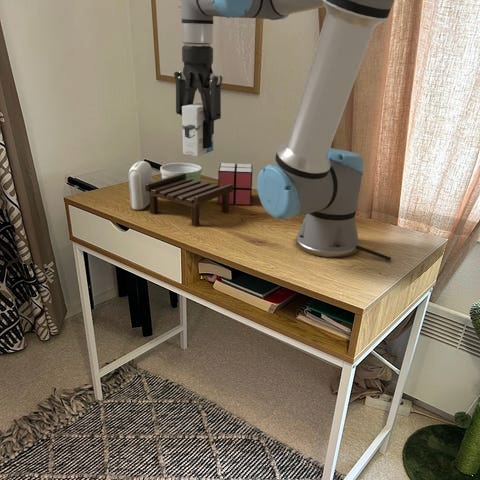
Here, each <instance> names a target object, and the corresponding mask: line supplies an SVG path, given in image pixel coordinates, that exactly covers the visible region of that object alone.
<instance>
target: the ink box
mask: <svg viewBox="0 0 480 480" xmlns="http://www.w3.org/2000/svg"><path fill="white" fill-rule="evenodd" d="M181 120H182V121H181V123H182V154H183V155H187V156H193V157H201V156H203V155H206V154H208V153H211V152H213V151H214V134H213V135H212V147H210V148H206V149H204V148H203V122H204V120H206V119H205V114H204V109H203V104H202V102H196V103H193V104H191V105H186V106H182V116H181Z"/></svg>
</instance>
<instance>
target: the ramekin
mask: <svg viewBox="0 0 480 480" xmlns="http://www.w3.org/2000/svg"><path fill="white" fill-rule="evenodd" d="M159 169H160V174H161V179H164V178H167V177H170V176H174V175H177V174H180V173H186V179H187V178H191V179H193V181H195V180H199V181H201V178H202V177H201V176H202V172H203V170H202V166H201V165H198V164H195V163H189V162H171V163H166V164H163V165H161V166H160V168H159Z"/></svg>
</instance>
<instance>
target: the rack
mask: <svg viewBox="0 0 480 480" xmlns="http://www.w3.org/2000/svg"><path fill="white" fill-rule="evenodd" d="M218 186H219V185H218V184H215V183H213V184H211V183H210V182H207V181H204V182H202V181H201V180H200V181H199V180H195V181H193V179H191V178H187V179H186V173H180V174H177V175H174V176H170V177H167V178H164V179H162V178H160V179H157V180H154V181H153V180H152V182H150V183H147V184H145V187H146V191H148V192H149V198H150V204H149V211H150V214H154V215H156V214H158V213H159V199H162V200H167V201H170V202H174V203H178V204H181V205H184V206H188V207H190V209H191V210H190V212H191V213H190V214H191V215H190V216H191V226H193V227H198V226H200V223H201V222H200V221H201V220H200V219H201V217H200V216H201V215H200V214H201V213H200V209H201V208H200V205H201V204H204V203H206V202H208V201H211V200H214V199H216V198H217V199H218V197H219V196H222V204H221V213H223V214H228V213H230V204H229V199H230V195H229V194H230V192H232V191H233V184H228V185H225V186H221V187H219V188H218ZM158 198H159V199H158Z"/></svg>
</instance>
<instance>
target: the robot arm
mask: <svg viewBox="0 0 480 480" xmlns="http://www.w3.org/2000/svg"><path fill="white" fill-rule="evenodd" d="M394 2H395V0H180V17H181V18H180V19H181V24H180V25H181V43H182V44H184V45H182V47H181V61H182V63H183V67H182V70H179V71H174V72H173V76H174V80H175V113H176V115H180V116H181V117H182V106H186V105H191V104H194V101H195V97H196V92H197V90H198V93H199V94H200V99H201V103H202V104H203V109H204V114H205V119H206V120H204V122H203V148H204V149H206V148H210V147H212V135H213V136H214V134H215V121H218V120H220V119H221V118H222V102H221V100H222V98H221V93H222V91H221V88H222V83H223V76H222V75H217V74H215V73H214V71H213V67H212V66H213V63H214V47H213V46H211V45H212V44H214V17H219V18H227V19H231V18H233V19H236V18H238V19H241V18H242V19H262V20H270V21H278V20H284V19H287V18H288V17H289V16H290V15H292V14H297V13H301V12H306V11H312V10H317V9H321V8H325V10H326V13H325V17H324V20H323V23H322V27H321V30H320V33H319V37H318V40H317V44H316V47H315V51H314V53H313V57H312V59H311V62H310V65H309V69H308V72H307V76H306V79H305V82H304V85H303V90H302V93H301V96H300V100H299V103H298V106H297V110H296V112H295V116H294V119H293V122H292V126H291V129H290V133H289V135H288V139H287V141H286V142H284V143H283V144H281V145H279V146H278V148H277V150H276V154H275V156H274V157H275V158H274V161H273V163H272V164H267V165H266V166H265V167H263V168H262V169H261V170H260V171H259V173H258V175H257V179H256V189H257V190H256V191H257V194H258V198H259V201H260V203H261V205H262V207H263V209H264V210H265V212H266V213H268V214H269V216H271V217H272V218H274V219H276V220H279V221H280V220H281V221H283V220H289V219H291V220H293V219H296V218H298V217H302V216H305V217H304V219H303V220H301V226H300V227H299V229H298V232H297V235H296V242H295V243H296V246H297V247H298V248H299V249H300V250H301V251H302V252H305V253H307V254H311V255H313V256H316V257H317V256H318V257H324V258H343V257H344V258H345V257H348V256H349V257H350V256H352V255H353V254H356V253H357V251H361V252H365V253H367V254H370V255H373V256H375V257H378V258H380V259H383V260H386V261H391V259H392V257H391V256H388V255H385V254H383V253H380V252H377V251H374V250H372V249H369V248H366V247H364V246H360V245H359V235H358V229H357V222H356V214H357V208H358V202H359V196H360V190H361V185H362V179H363V175H364V162H365V160H364V158H363V156H362V155H360V154H358V153H356V152H353V151H348V150H343V149H340V148H339V149H338V148H332V143H333V140H334V138H335V135H336V133H337V130H338V127H339V125H340V122H341V120H342V117H343V115H344V111H345V109H346V107H347V102H348V101H349V98H350V95H351V92H352V90H353V86H354V85H355V81H356V78H357V76H358V73H359V70H360V68H361V65H362V63H363V60H364V57H365V54H366V53H367V52H366V51H367V49H368V46H369V44H370V41H371V38H372V35H373V32H374V29H375V28H376V27H377V26H378V25H380V24H381V23H383V22H385V21H387V20H388V18H389V16H390V13H391V10H392V7H393V6H394Z"/></svg>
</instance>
